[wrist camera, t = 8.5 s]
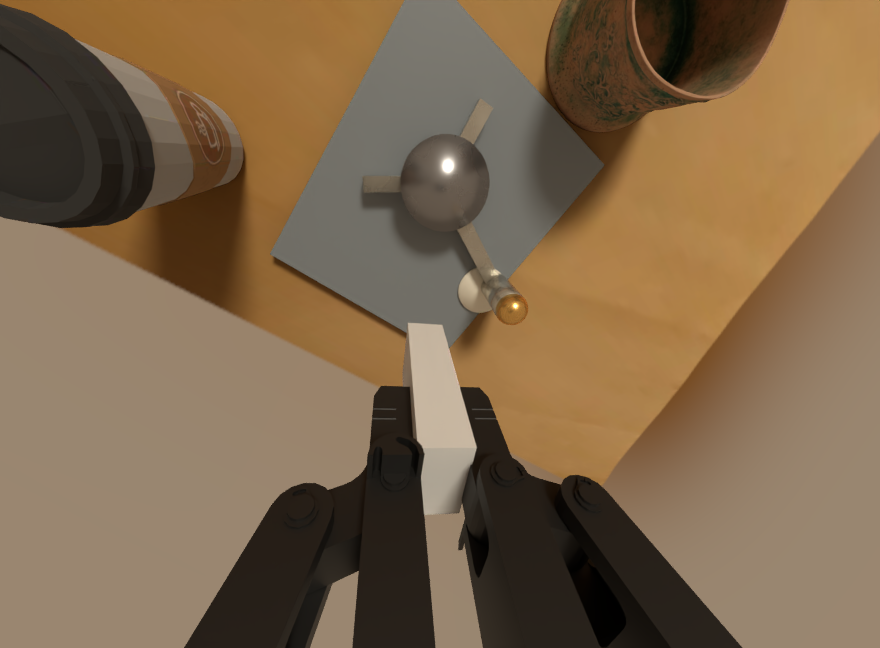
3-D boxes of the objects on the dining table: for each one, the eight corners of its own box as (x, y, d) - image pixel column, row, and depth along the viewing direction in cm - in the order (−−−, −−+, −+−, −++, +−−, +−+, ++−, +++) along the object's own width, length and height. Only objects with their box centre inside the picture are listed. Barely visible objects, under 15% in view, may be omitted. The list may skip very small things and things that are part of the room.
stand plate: (274, 250, 30) (268, 254, 28) (422, -27, 22) (424, -39, 21) (449, 352, 37) (451, 359, 36) (603, 172, 30) (613, 172, 28)
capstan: (358, 179, 26) (345, 185, 20) (483, 96, 25) (512, 75, 18) (449, 323, 34) (461, 361, 27) (550, 266, 32) (588, 293, 26)
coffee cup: (276, 189, 27) (160, 218, 14) (179, 206, 27) (-31, 251, 14) (231, 68, 23) (11, -49, 10) (117, 86, 23) (-262, -9, 10)
